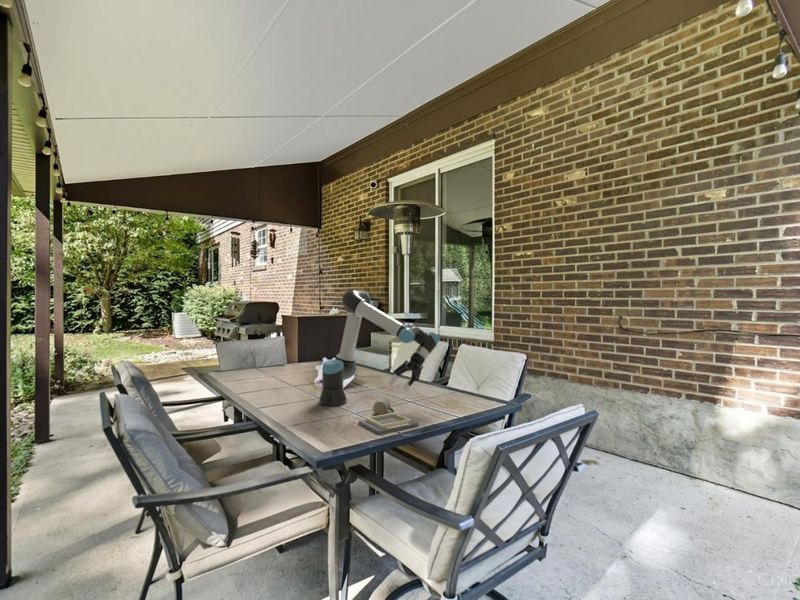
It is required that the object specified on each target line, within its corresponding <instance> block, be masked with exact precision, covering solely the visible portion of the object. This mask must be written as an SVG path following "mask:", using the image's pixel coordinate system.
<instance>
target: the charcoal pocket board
mask: <svg viewBox="0 0 800 600" xmlns="http://www.w3.org/2000/svg"><path fill="white" fill-rule="evenodd" d="M359 424H360V426H361V425H362V427H363V426H364V427H363V428H365V427H366V428H365V429H367V428H368V430H369V429H370V430H369V431H371V430H372V431H371V432H373V431H374V432H373V433H375V432H376V433H375V434H377V433H378V434H377V435H382V434H381V433H384V434H387V433H386V432H388V433H392V432H391V431H393V432H397V431H396V430H398V431H402V430H406V428H407V429H411V427H412V428H415V427H419V426H420V425H419V422H418V421H415V420H412V419H411V418H408V417H405V416H403V415H401V414H398V413H396V412H394V413H389V414H387V413H385V414H383V415H378V414H377V415H374V416H369V417H366V418H365V419H361V420H358V425H359ZM401 429H402V430H401Z"/></svg>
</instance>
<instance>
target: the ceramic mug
mask: <svg viewBox="0 0 800 600" xmlns="http://www.w3.org/2000/svg"><path fill="white" fill-rule="evenodd" d="M373 412H374V413H375V414H376V415H377V416H378V415H384V414H389V413H396V411H395V410H394V408H392V407H391V402H390V400H389V399H388V398H386V397H385V396H381V397H378V398H377V399H376V401H375V402H374V404H373Z"/></svg>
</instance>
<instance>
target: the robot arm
mask: <svg viewBox="0 0 800 600" xmlns="http://www.w3.org/2000/svg"><path fill="white" fill-rule="evenodd" d="M341 303H342V305H343V307H344V308H345V312H346V313H347V317H346V321H345V326H344V330H343V336H342V341H341V345H340V350H339V353H337V354H336V356H335V359H330V360H326V361H324V362H323V363H322V368H321V370H322V372H321V373H322V382H321V383H322V384H321V385H322V386H321V387H322V389H321V392H320V396H319V398H318V404H319V405H321V406H324V407H325V406H326V407H337V406H342V405H344V404H347V396H346V393H345V390H344V381H345V380H348V379H350V378H352V377H353V376H354V375H355V374H356V371H357V364H356V358H355V352H356V348H357V343H358V339H359V333H360V327H361V324H362V318H364V319H366V320H368V321H370V322H371V323H373V324H375V325H376V326H378V327H380V328H382V329H383V330H385V331H387V332H388V333H390V334H392V335H394V336H395V337H396V338H398V339H399V341H400V342H401V343H403V344H409V343H412V342H414V343H417V344H418V347H417V348H416V349H415V350H414V352H413V353H412V355H411V356H410V360H409V361H408V360H405V361H404V362H403V363H402V364H401V365H399V366H398V367H396V369H394V370H393V376H392V377H391V378H390V380H389V381H388V382H387V384H388V385H389V386H390V387H393V385H395V383H396V382H397V380H398V379H399V377H400V376H401V375H403V374H404V373H407V372H409V371H411V377H409V379H408V380H407V381H406V383H405V384H404V385H403V387H402V389H403V390H404V391H405V392H407V391H408V390H409V389H410V388H411V386H412V385H413V384H414V382H418V381H419V380H420V377H421V373H422V370H423V368H424V365H423V364H424V363H425V362H426V360H427V359H428V357H429V356H430V354H431V353H432V352H433V351H434V349H435V348H436V347H437V345H438V344H439V342H440V337H439V335H438V334H437V333H435V332H433V331H429V332H425V331H424V330H422V329H420V328H419V327H418V326H417V325H415V324H413V323H411V322H410V323H408V324H407V325H405V324H404V323H402V322H401V321H398V320H397V319H395V318H394V317H392V316H390V315H388V314H387V313H385V312H383V311H381V310H380V309H378V308H377V307H374V306H373V305H372V304H371V296H370V295H369V293H368V292H366V291H365V290H361V289H356V290H355V289H350V290H347V291H345V292H344V293H343V295H342V297H341Z"/></svg>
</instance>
